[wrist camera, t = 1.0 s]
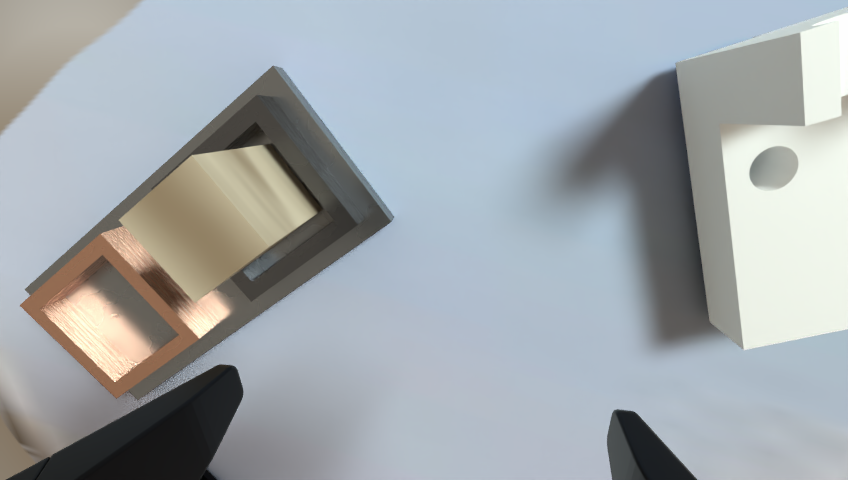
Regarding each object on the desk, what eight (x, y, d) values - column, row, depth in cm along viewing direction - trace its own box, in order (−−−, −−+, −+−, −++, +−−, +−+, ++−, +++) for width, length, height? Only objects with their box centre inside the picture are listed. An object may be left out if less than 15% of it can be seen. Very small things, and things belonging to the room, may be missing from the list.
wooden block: (266, 252, 21) (194, 302, 15) (213, 190, 20) (118, 220, 15) (322, 209, 20) (269, 246, 14) (270, 143, 19) (191, 155, 14)
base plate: (149, 389, 26) (118, 417, 23) (41, 282, 24) (-5, 301, 22) (394, 217, 21) (386, 229, 19) (282, 68, 19) (257, 61, 17)
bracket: (664, 65, 18) (800, 32, 11) (839, 9, 17) (1119, -69, 10) (699, 313, 22) (819, 412, 14) (846, 280, 20) (1058, 371, 13)
